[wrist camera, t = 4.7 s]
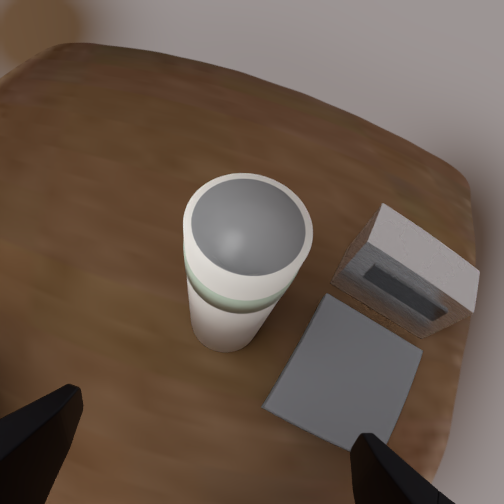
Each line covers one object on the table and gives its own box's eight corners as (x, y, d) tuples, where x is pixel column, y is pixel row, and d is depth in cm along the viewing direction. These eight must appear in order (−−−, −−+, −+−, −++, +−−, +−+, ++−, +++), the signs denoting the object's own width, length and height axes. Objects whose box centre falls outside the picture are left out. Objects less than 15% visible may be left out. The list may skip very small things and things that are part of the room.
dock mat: (371, 460, 20) (377, 462, 19) (261, 407, 21) (263, 407, 20) (416, 353, 24) (422, 351, 24) (322, 297, 26) (326, 293, 25)
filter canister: (269, 339, 23) (336, 261, 12) (204, 362, 22) (207, 304, 11) (243, 279, 25) (280, 163, 14) (181, 299, 24) (167, 187, 13)
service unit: (420, 341, 25) (473, 315, 19) (329, 285, 26) (366, 243, 20) (432, 301, 27) (479, 269, 21) (347, 247, 28) (383, 201, 22)
